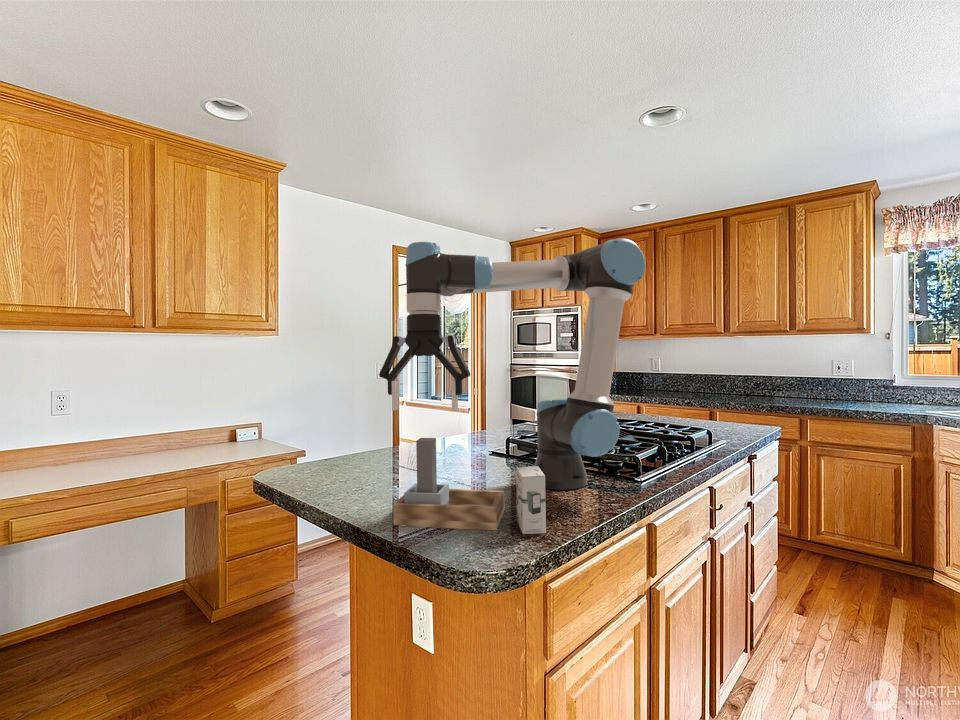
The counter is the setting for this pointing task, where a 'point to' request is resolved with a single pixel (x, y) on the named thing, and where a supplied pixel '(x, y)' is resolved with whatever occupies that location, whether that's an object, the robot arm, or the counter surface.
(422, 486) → the grey square-based post
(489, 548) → the counter surface
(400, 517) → the bay
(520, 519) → the ink box
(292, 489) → the counter surface
